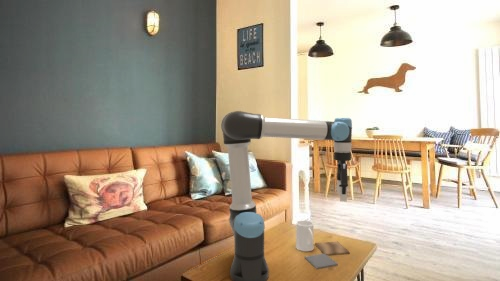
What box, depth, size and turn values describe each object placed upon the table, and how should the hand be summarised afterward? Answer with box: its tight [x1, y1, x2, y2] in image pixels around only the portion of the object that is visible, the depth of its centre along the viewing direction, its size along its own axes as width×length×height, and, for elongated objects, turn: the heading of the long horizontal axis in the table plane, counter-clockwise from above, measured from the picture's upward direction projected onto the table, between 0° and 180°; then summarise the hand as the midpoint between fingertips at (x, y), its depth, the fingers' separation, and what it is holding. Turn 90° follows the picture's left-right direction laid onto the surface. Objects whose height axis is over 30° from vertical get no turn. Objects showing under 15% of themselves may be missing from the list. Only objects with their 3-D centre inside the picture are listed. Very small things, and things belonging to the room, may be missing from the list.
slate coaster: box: [304, 253, 339, 270], centre depth 123 cm, size 10×10×1 cm
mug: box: [295, 219, 315, 252], centre depth 135 cm, size 12×8×12 cm
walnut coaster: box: [314, 241, 351, 257], centre depth 135 cm, size 12×12×1 cm
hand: (341, 197), depth 132 cm, fingers open, 13 cm apart
